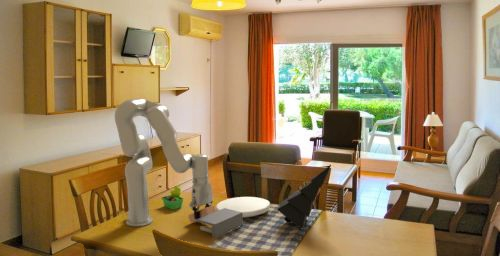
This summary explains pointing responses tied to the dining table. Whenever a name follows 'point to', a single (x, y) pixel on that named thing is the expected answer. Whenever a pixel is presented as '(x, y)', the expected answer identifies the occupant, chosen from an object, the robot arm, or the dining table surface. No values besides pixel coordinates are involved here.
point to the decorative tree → (302, 200)
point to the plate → (245, 205)
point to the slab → (202, 213)
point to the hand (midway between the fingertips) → (202, 216)
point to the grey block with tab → (221, 222)
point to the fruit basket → (173, 199)
